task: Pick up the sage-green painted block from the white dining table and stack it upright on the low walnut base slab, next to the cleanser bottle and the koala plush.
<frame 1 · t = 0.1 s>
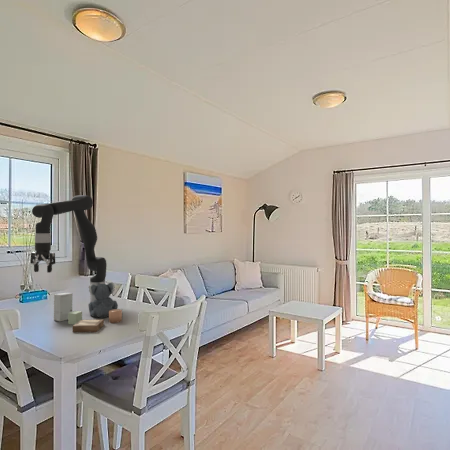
hand: (42, 272, 183), 29 cm above the table, fingers open, 8 cm apart
skincare box: (63, 319, 197), on the table
tan rounded block: (115, 321, 193), on the table
walnut base: (88, 328, 179), on the table
koala plush: (102, 315, 207), on the table
sage block: (75, 323, 189), on the table
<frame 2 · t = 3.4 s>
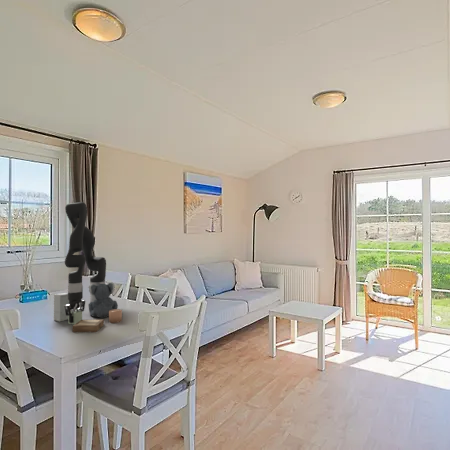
hand: (75, 321, 189), 1 cm above the table, fingers closed on sage block, 5 cm apart
sage block: (75, 323, 189), on the table, touching gripper
everything else where it was.
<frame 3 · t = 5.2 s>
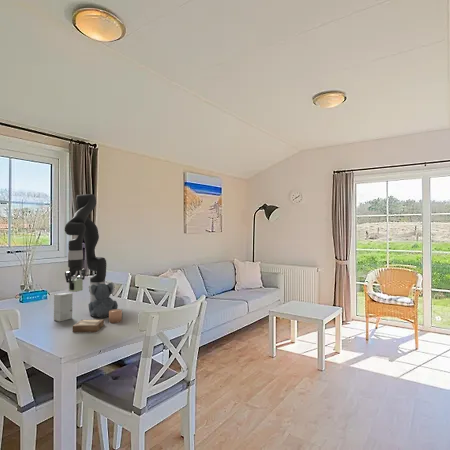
hand: (75, 288, 189), 19 cm above the table, fingers closed on sage block, 5 cm apart
sage block: (75, 290, 189), point 18 cm above the table, touching gripper
everything else where it was.
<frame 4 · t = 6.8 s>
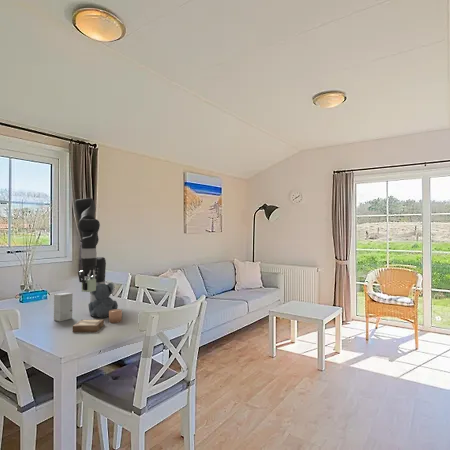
hand: (88, 289, 179), 21 cm above the table, fingers closed on sage block, 5 cm apart
sage block: (88, 290, 180), point 20 cm above the table, touching gripper
everything else where it was.
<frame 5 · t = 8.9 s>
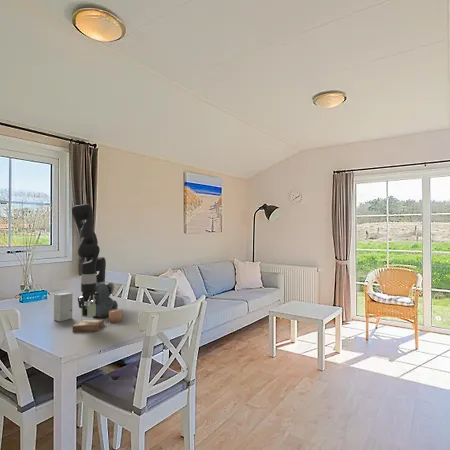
hand: (88, 314, 179), 7 cm above the table, fingers closed on sage block, 5 cm apart
sage block: (88, 316, 179), point 6 cm above the table, touching gripper
everything else where it was.
when the fingers open (5 cm above the table, at t = 10.4 s): sage block stays where it is, resting on walnut base.
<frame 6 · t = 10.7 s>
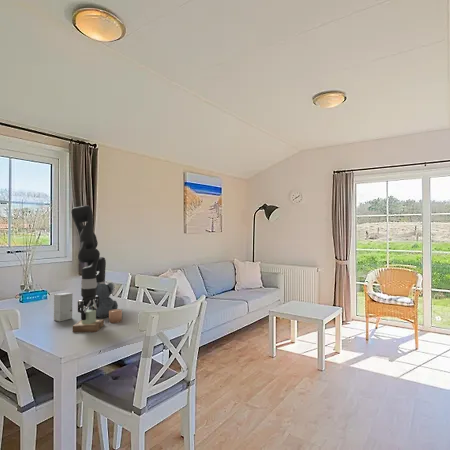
hand: (88, 318, 179), 5 cm above the table, fingers open, 7 cm apart
sage block: (88, 322, 179), point 3 cm above the table, touching walnut base
everything else where it was.
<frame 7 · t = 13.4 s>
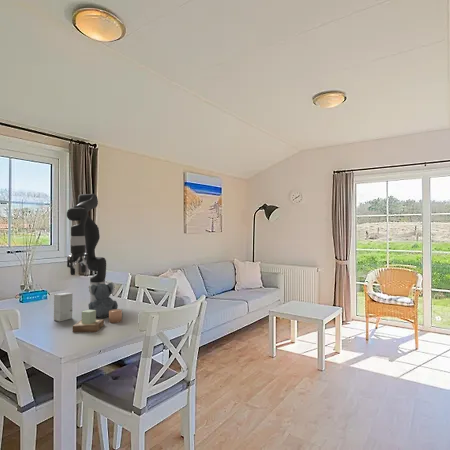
hand: (78, 273, 187), 28 cm above the table, fingers open, 8 cm apart
nothing on the table moved.
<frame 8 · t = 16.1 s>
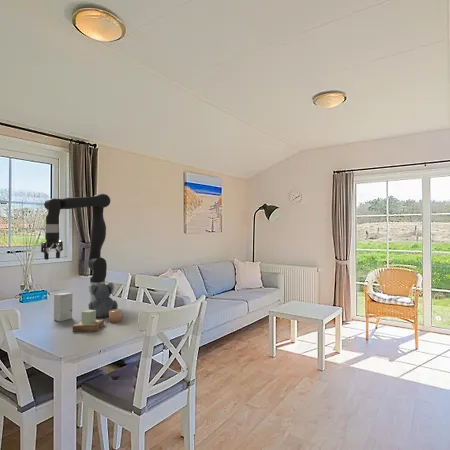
hand: (52, 258, 204), 34 cm above the table, fingers open, 8 cm apart
nothing on the table moved.
at the end: sage block inside the target area on the walnut base (0.1 cm from its centre), point 3.1 cm above the walnut base's base; sage block tilted 0°; the gripper is holding nothing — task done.
